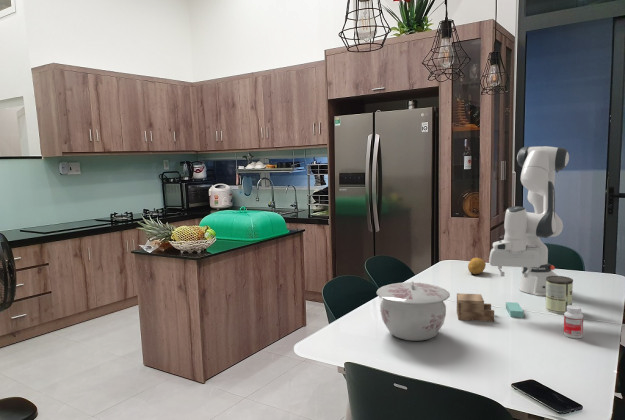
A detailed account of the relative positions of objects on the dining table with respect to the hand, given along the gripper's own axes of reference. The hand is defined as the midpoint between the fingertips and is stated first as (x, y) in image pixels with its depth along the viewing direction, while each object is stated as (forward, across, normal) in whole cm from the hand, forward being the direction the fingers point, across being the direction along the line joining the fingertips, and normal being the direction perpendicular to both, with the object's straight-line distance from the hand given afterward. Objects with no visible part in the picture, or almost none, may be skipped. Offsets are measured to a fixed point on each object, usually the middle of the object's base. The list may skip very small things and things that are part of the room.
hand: (514, 276), depth 194 cm
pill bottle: (+16, -17, +24) cm, 33 cm away
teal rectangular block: (+16, 0, 0) cm, 16 cm away
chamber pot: (+17, +41, +32) cm, 55 cm away
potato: (+15, +8, -68) cm, 70 cm away
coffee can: (+16, -19, -6) cm, 26 cm away
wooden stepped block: (+16, +16, +8) cm, 24 cm away
